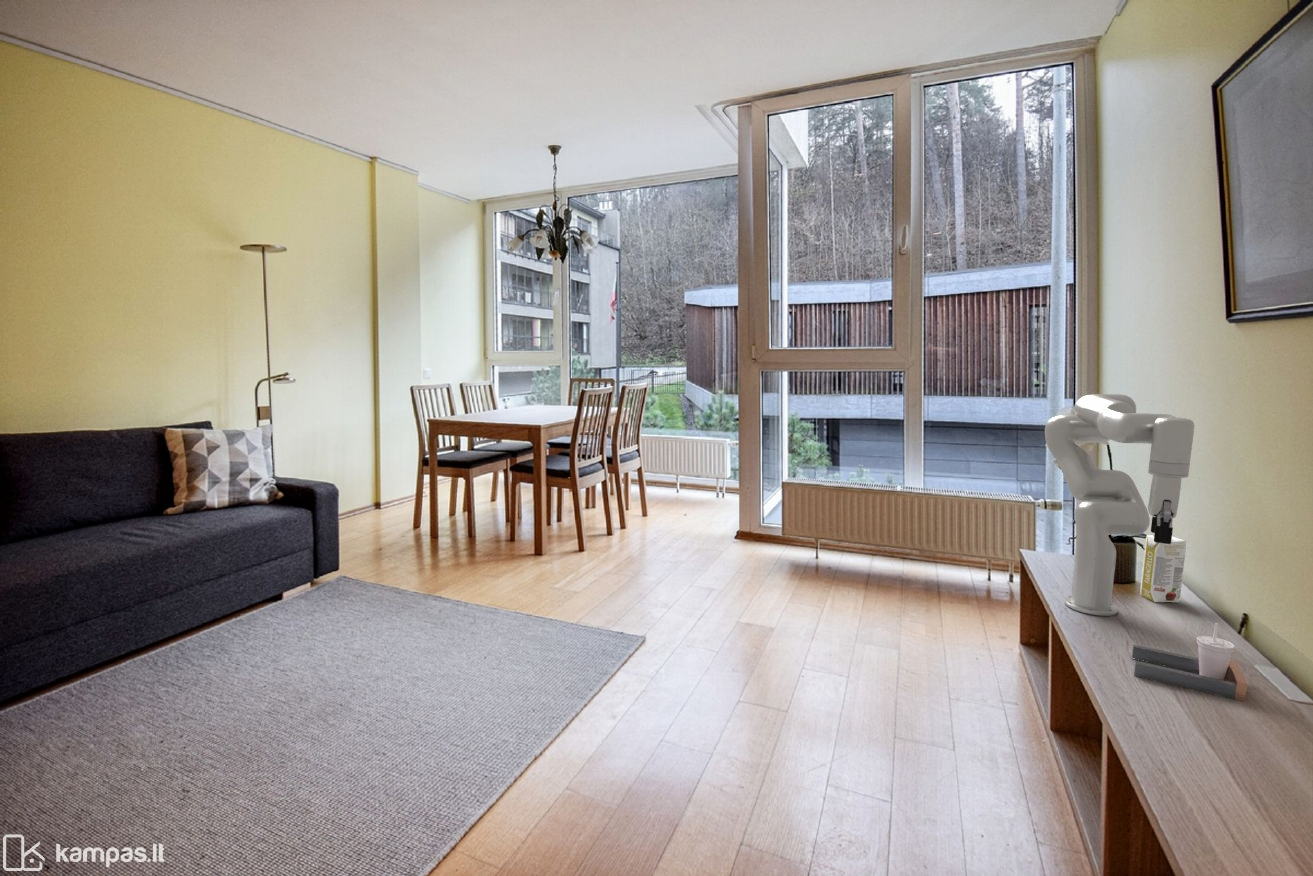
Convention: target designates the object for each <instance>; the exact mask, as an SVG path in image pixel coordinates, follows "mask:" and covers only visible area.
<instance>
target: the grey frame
mask: <svg viewBox="0 0 1313 876" xmlns="http://www.w3.org/2000/svg"><path fill="white" fill-rule="evenodd" d="M1132 658H1135V659H1134V660H1135V662H1134V669H1133V676H1134V677H1137V676H1139V677H1138V678H1141V677H1144V678H1143V679H1145V678H1148V679H1147V680H1150V679H1151V681H1154V680H1156V681H1155V682H1158V681H1159V682H1158V683H1163V684H1168V685H1172V686H1175V687H1181V688H1184V689H1189V690H1193V691H1197V692H1201V693H1206V694H1211V695H1215V696H1218V697H1224V698H1227V699H1232V700H1236V701H1240V702H1244V703H1245V702H1246V698H1247V697H1246V696H1247V691H1248V690H1247V689H1248V682H1247V680H1246V678H1245V675H1244V674H1243V671H1242V670H1241V669H1242V668H1241V667H1240V664H1239V663H1238V661H1233V660H1230V661H1229V664H1228V668H1227V671H1226V674H1225V677H1224V680H1220V679H1215V678H1211V677H1206V676H1202V675H1199V657H1195V656H1189V655H1185V654H1180V653H1175V652H1171V651H1165V650H1161V649H1156V648H1152V647H1146V646H1142V645H1138V644H1132V652H1131V659H1132ZM1136 659H1137V660H1136ZM1138 659H1139V660H1138ZM1140 660H1144V661H1140ZM1145 661H1148V662H1145ZM1149 662H1151V663H1149ZM1154 663H1156V664H1154ZM1158 664H1159V665H1158ZM1163 665H1165V666H1163ZM1172 667H1173V668H1172Z"/></svg>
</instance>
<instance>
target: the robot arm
mask: <svg viewBox="0 0 1313 876" xmlns="http://www.w3.org/2000/svg"><path fill="white" fill-rule="evenodd" d="M1074 413H1075V414H1061V415H1060V414H1059V415H1056V416H1054V417H1051V418H1049V420H1048V421H1047V422H1046V424H1045V427H1044V437H1045V443H1046V445H1047V448H1048V450H1049V452H1050V454H1051V455H1052V456H1053V458H1054V459H1055V460H1056V462H1057V464H1058V466H1059V467H1060V469H1061V473H1062V475H1063V478H1064V480H1065V482H1066V485H1067V487H1068V490H1069V492H1070V494H1071V496H1072V497H1073V498H1074V499H1075V500H1077V501H1079V502H1080V503H1079V504H1078V505H1076V507H1075V509H1074V521H1075V531H1076V536H1075V537H1076V538H1075V552H1074V560H1073V561H1074V563H1073V574H1072V583H1071V595H1070V596H1069V595H1068V596H1066V597H1065V598H1064V600H1063V601H1064V602H1063V603H1064V605H1066V606H1067V607H1068V608H1070V609H1072V610H1073V611H1077V612H1080V613H1083V614H1087V615H1093V616H1100V617H1101V616H1102V617H1109V616H1114V615H1116V614H1117V613H1118V607H1117V606H1116V605H1115V604H1113V603H1112V599H1113V588H1114V580H1115V569H1116V560H1117V550H1116V546H1115V545H1114V543H1113V542H1112V541H1111V538H1110V537H1109V535H1110V536H1111V535H1122V536H1123V535H1125V536H1135V535H1136V536H1137V535H1141V534H1144V533H1145V532H1146V531H1148V529H1149V527H1150V532H1151V533H1152V534H1153V536H1154V542H1157V543H1164V544H1171V540H1172V536H1173V531H1174V527H1173V519H1175V518H1176V517H1177V513H1178V508H1179V502H1180V496H1181V495H1180V494H1181V489H1182V488H1181V487H1182V479H1185V478H1189V474H1190V466H1191V458H1192V450H1193V448H1192V447H1193V441H1194V440H1193V439H1194V433H1195V423H1194V421H1193V420H1192V419H1190V418H1186V417H1185V418H1184V417H1176V416H1174V415H1171V414H1167V413H1145V412H1144V413H1143V412H1142V413H1137V404H1136V403H1135V401H1134V399H1133V398H1132V397H1130V396H1128V395H1126V394H1119V393H1118V394H1115V393H1114V394H1112V393H1111V394H1110V393H1109V394H1108V393H1106V394H1105V393H1093V394H1085V395H1084V396H1082V397H1080V398H1078V399H1077V401H1076V402H1075V404H1074ZM1110 440H1111V441H1114V442H1117V443H1122V444H1147V445H1148V444H1150V445H1151V446H1150V455H1149V462H1148V470H1147V471H1148V475H1152V478H1151V483H1150V489H1149V498H1148V505H1147V506H1146V504H1145V502H1144V500H1143V498H1142V496H1141V494H1140V492H1139V489H1138V487H1137V486H1136V483H1135V481H1134V480H1133V478H1132V477H1131V476H1130V475H1129V474H1127V473H1126V472H1124V471H1121V470H1116V469H1100V468H1099V467H1097V465H1096V464H1095V462H1094V460H1093V457H1092V456H1091V455H1090V453H1089V452H1087V451H1086V450H1085V449H1084V448H1082V446H1080V445H1078V444H1076V443H1090V444H1091V443H1096V444H1098V443H1099V444H1100V443H1107V442H1109V441H1110ZM1150 516H1152V518H1150ZM1150 519H1151V520H1150ZM1150 521H1151V522H1150ZM1150 524H1151V525H1150Z"/></svg>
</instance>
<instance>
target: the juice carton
mask: <svg viewBox="0 0 1313 876" xmlns="http://www.w3.org/2000/svg"><path fill="white" fill-rule="evenodd" d="M1144 544H1145V545H1144V551H1143V561H1142V568H1141V569H1142V571H1141V579H1140V596H1141V595H1142V596H1141V597H1144V598H1145V599H1147V598H1148V599H1147V600H1149V599H1150V601H1151V600H1152V601H1151V602H1153V601H1154V602H1153V603H1155V602H1180V600H1181V598H1180V597H1181V594H1182V593H1181V591H1182V586H1183V576H1184V567H1185V559H1186V551H1187V550H1186V549H1187V541H1186V540H1185V539H1181V538H1178V537H1176V536H1173V535H1172V540H1171V544H1164V543H1157V542H1154V534H1150V535H1149V534H1146V538H1145V543H1144Z"/></svg>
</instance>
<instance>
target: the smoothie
mask: <svg viewBox="0 0 1313 876" xmlns="http://www.w3.org/2000/svg"><path fill="white" fill-rule="evenodd" d="M1213 629H1214V630H1213V634H1212V635H1213V636H1210V635H1200V636H1197V637H1196V641H1195V642H1196V643H1197V650H1198V658H1199V673H1198V675H1202V676H1206V677H1211V678H1215V679H1220V680H1224V681H1225V679H1224V677H1225V674H1226V671H1227V668H1228V664H1229V661H1231V659H1232V655H1233V653H1234V652H1235V651H1236V650H1235V648H1236V645H1235V644H1234V643H1232V642H1230V641H1228V640H1226V639H1224V638H1220V637H1218V629H1219V623H1218V622H1215V623H1214V628H1213Z"/></svg>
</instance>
